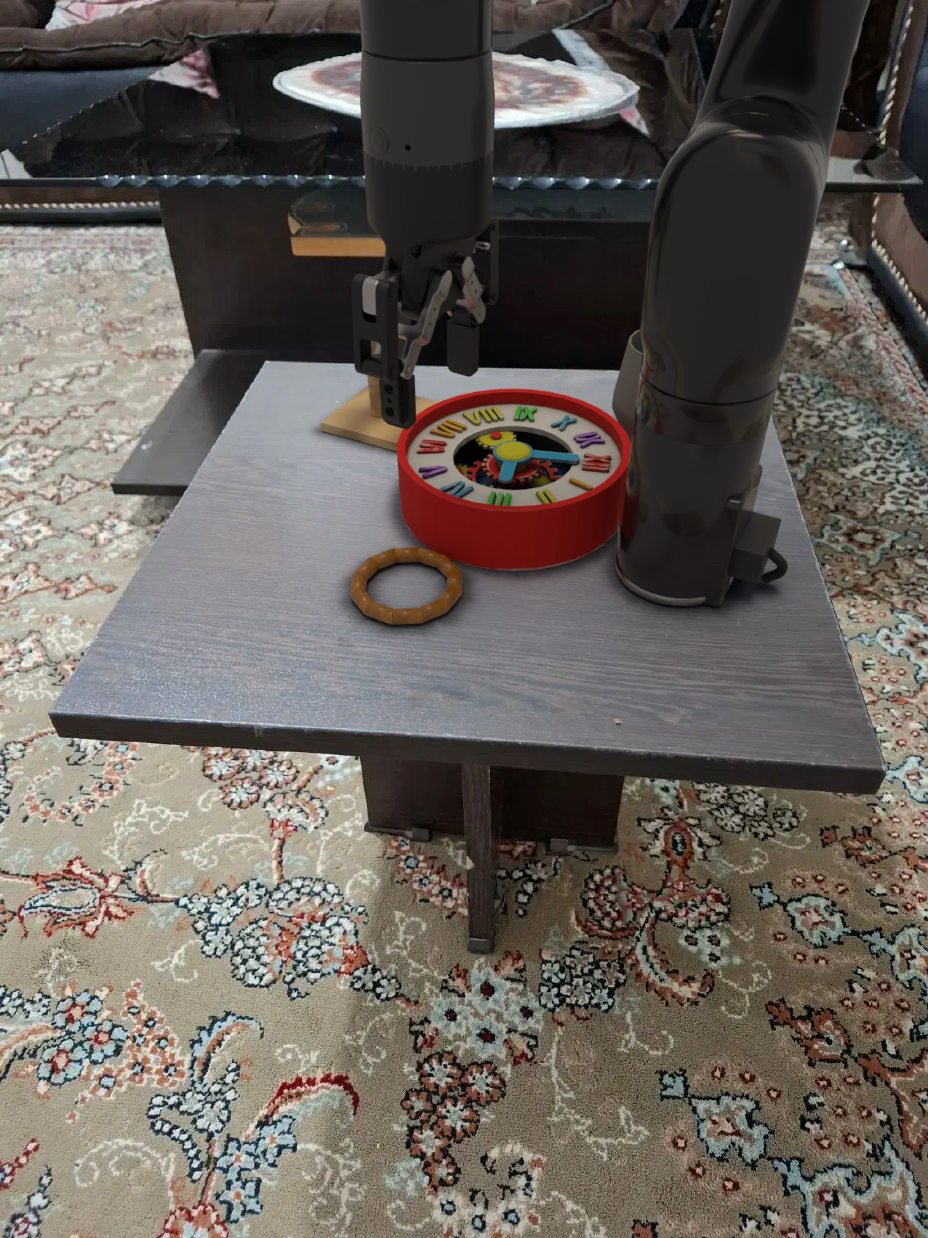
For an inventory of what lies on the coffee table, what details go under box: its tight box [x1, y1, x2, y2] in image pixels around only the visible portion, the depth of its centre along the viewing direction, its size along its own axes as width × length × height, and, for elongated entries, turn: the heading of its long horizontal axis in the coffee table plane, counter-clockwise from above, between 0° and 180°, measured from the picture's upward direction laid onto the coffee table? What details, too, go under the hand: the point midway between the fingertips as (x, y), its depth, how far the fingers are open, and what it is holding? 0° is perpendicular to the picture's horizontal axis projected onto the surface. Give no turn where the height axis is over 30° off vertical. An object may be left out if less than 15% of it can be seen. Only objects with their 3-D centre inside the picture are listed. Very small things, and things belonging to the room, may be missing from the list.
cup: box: [611, 329, 643, 443], centre depth 84 cm, size 10×9×10 cm
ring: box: [349, 546, 463, 625], centre depth 71 cm, size 9×9×1 cm
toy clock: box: [396, 387, 631, 572], centre depth 78 cm, size 20×6×20 cm
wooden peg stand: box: [320, 341, 440, 453], centre depth 87 cm, size 9×9×12 cm
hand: (432, 397), depth 62 cm, fingers open, 8 cm apart
